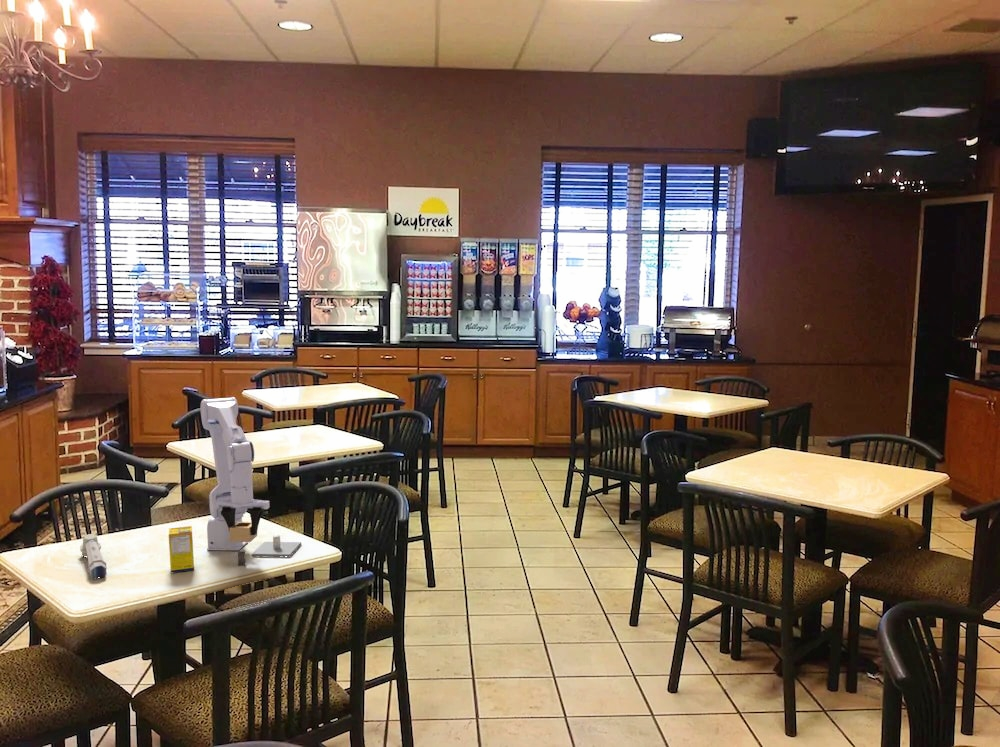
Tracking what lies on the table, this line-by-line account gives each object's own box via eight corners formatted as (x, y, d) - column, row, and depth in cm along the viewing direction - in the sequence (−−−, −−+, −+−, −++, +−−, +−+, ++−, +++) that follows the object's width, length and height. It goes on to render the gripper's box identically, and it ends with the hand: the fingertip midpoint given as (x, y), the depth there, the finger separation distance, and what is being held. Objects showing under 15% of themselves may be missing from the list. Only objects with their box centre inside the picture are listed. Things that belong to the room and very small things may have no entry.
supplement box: (193, 563, 231) (191, 525, 230) (194, 570, 226) (192, 531, 225) (170, 566, 229) (168, 527, 228) (170, 573, 224) (168, 534, 223)
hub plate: (251, 556, 237) (251, 541, 237) (264, 544, 248) (264, 530, 248) (289, 557, 237) (289, 542, 236) (301, 544, 247) (300, 530, 247)
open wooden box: (229, 541, 228) (229, 527, 228) (237, 535, 234) (237, 521, 233) (250, 542, 228) (249, 527, 228) (257, 535, 234) (256, 521, 233)
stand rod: (236, 565, 230) (236, 553, 229) (239, 563, 232) (238, 550, 231) (243, 565, 230) (243, 553, 229) (246, 563, 232) (246, 550, 231)
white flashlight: (87, 567, 218) (78, 530, 239) (88, 590, 220) (79, 551, 240) (109, 563, 221) (98, 527, 242) (110, 586, 222) (99, 548, 243)
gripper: (209, 488, 226) (212, 537, 227) (262, 489, 225) (264, 538, 226) (220, 482, 233) (222, 530, 234) (271, 483, 232) (273, 530, 233)
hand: (243, 533), depth 231 cm, fingers closed on open wooden box, 6 cm apart
